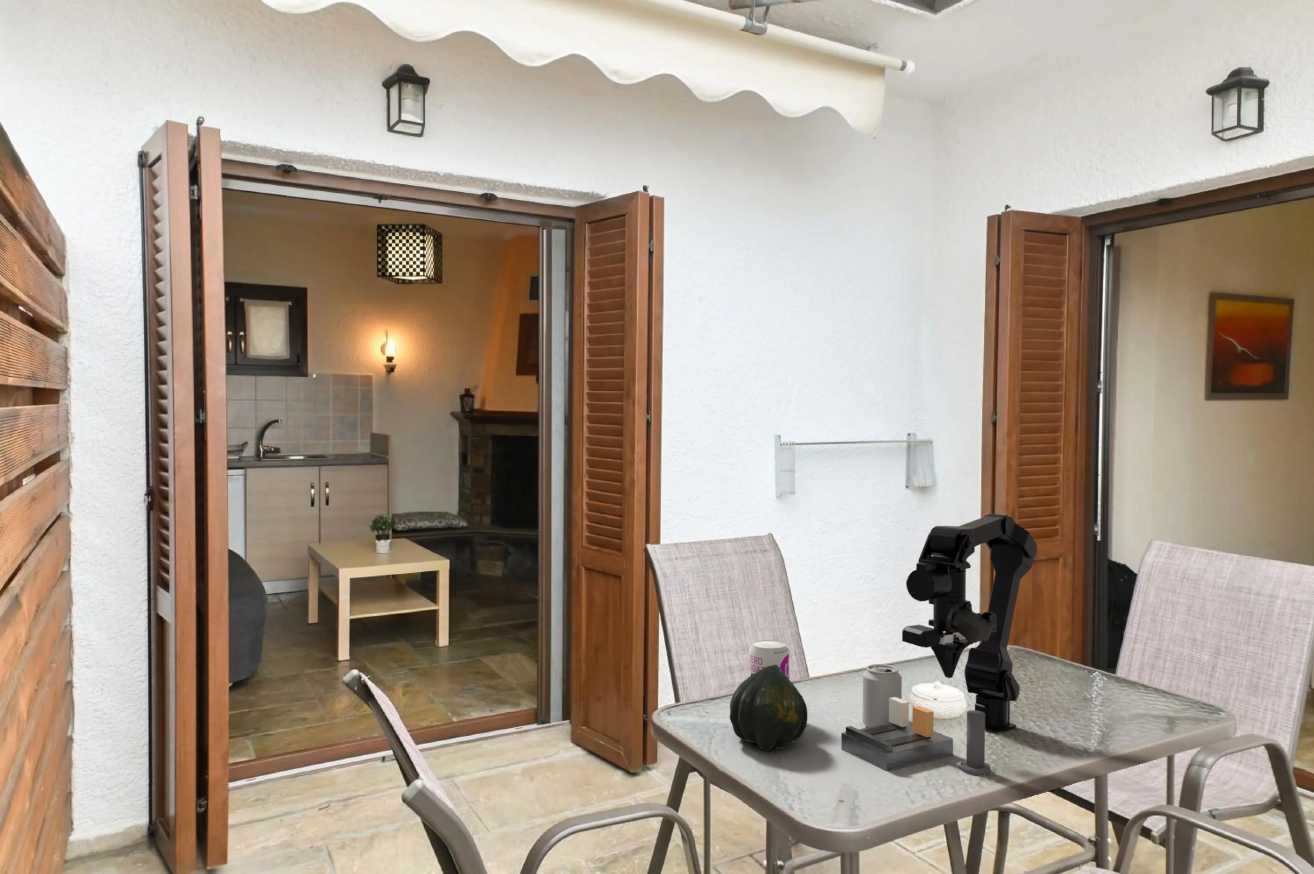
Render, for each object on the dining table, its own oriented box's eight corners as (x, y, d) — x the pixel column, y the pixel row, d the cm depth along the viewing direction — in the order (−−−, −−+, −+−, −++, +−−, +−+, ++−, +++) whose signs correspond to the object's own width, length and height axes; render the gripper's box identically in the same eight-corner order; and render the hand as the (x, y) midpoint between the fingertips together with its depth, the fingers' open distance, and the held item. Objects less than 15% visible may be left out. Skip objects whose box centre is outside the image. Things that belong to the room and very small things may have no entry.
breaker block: (905, 734, 177) (905, 713, 177) (952, 754, 166) (953, 731, 166) (841, 748, 169) (841, 726, 169) (886, 770, 158) (886, 746, 158)
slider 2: (918, 729, 169) (919, 705, 169) (933, 735, 166) (933, 711, 166) (912, 731, 168) (912, 707, 168) (926, 737, 165) (927, 712, 165)
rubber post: (974, 762, 162) (974, 706, 162) (996, 771, 158) (997, 714, 158) (954, 767, 160) (954, 711, 160) (976, 777, 156) (977, 719, 155)
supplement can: (793, 713, 189) (793, 641, 189) (781, 725, 182) (782, 650, 181) (756, 708, 193) (756, 637, 192) (743, 719, 185) (743, 646, 185)
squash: (729, 730, 163) (781, 664, 165) (705, 708, 177) (754, 647, 180) (786, 778, 165) (836, 712, 168) (757, 752, 180) (804, 692, 182)
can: (902, 734, 177) (903, 673, 176) (862, 732, 178) (863, 671, 178) (900, 722, 184) (900, 663, 184) (862, 719, 185) (862, 661, 185)
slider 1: (895, 720, 175) (895, 696, 174) (908, 725, 171) (908, 701, 171) (888, 721, 174) (889, 697, 174) (902, 727, 171) (902, 703, 171)
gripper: (946, 606, 158) (945, 696, 159) (1019, 597, 167) (1018, 681, 167) (900, 595, 168) (899, 680, 168) (972, 587, 177) (971, 667, 177)
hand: (948, 677), depth 170 cm, fingers closed
